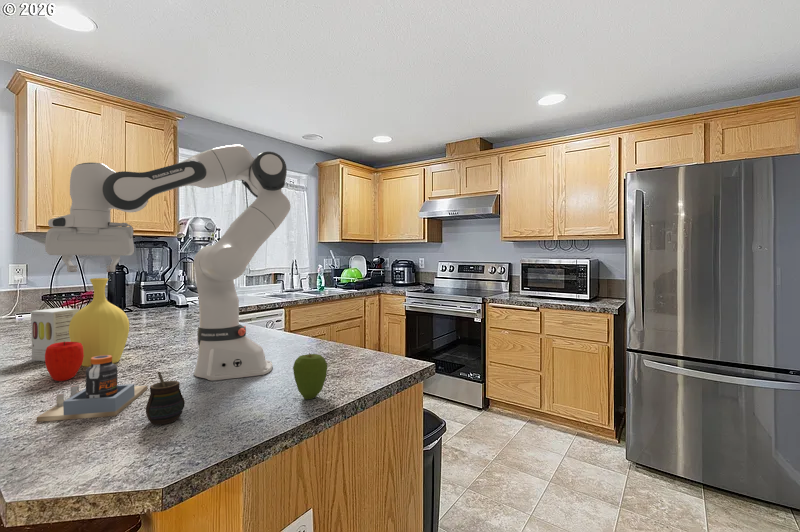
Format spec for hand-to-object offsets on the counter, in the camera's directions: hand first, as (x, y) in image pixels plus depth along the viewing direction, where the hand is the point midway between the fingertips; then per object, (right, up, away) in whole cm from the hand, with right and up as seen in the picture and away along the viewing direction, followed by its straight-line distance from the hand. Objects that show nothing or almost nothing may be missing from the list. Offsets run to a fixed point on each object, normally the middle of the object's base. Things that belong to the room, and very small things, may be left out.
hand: (91, 272), depth 111 cm
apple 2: (+63, -32, -10) cm, 71 cm away
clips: (+8, -31, -15) cm, 35 cm away
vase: (-14, -31, +22) cm, 40 cm away
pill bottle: (+16, -31, -18) cm, 39 cm away
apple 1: (-11, -31, +5) cm, 33 cm away
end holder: (+16, -32, -18) cm, 40 cm away
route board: (+13, -32, -15) cm, 37 cm away
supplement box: (-34, -31, +28) cm, 54 cm away
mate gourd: (+34, -32, -24) cm, 53 cm away
